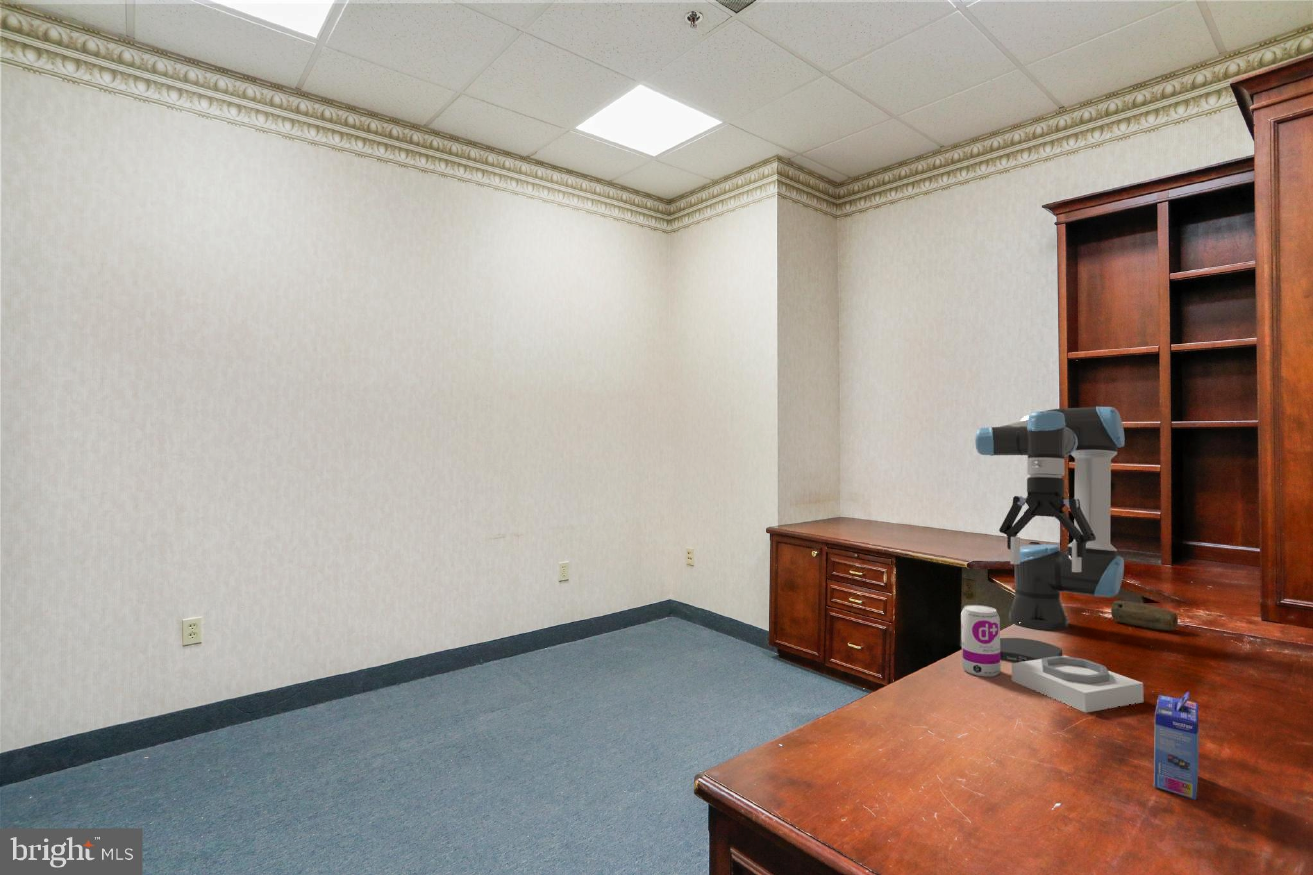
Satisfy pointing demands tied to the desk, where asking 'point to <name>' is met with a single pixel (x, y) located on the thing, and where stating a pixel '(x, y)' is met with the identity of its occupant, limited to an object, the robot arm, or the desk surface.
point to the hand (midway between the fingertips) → (1044, 567)
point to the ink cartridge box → (1176, 745)
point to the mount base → (1078, 683)
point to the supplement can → (980, 640)
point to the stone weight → (1144, 615)
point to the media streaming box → (1026, 650)
